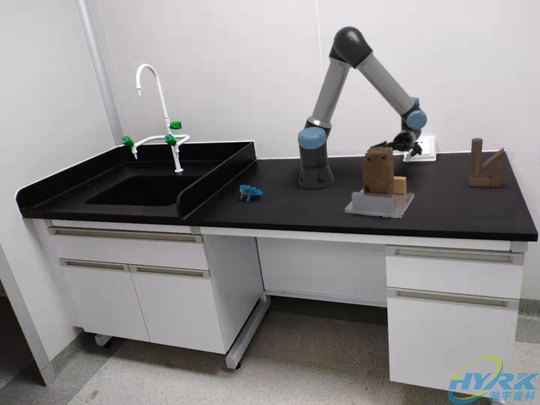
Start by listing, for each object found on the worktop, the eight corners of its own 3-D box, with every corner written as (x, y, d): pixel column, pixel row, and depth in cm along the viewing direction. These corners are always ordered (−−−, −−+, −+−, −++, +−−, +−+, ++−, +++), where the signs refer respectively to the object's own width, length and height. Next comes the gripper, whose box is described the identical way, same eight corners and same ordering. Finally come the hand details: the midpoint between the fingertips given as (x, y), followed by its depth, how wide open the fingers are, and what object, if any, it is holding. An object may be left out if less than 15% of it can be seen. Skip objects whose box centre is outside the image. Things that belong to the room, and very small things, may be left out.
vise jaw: (367, 191, 162) (367, 177, 159) (370, 188, 164) (369, 174, 161) (404, 194, 154) (404, 179, 152) (406, 191, 156) (406, 177, 154)
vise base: (344, 212, 151) (343, 193, 148) (362, 192, 165) (361, 174, 162) (400, 218, 141) (400, 198, 138) (414, 196, 155) (414, 178, 152)
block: (395, 197, 153) (394, 145, 145) (392, 206, 147) (391, 152, 139) (366, 196, 158) (363, 146, 150) (361, 204, 151) (358, 152, 144)
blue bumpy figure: (267, 193, 174) (252, 183, 168) (263, 206, 173) (247, 196, 166) (249, 192, 182) (234, 183, 175) (245, 205, 181) (229, 196, 174)
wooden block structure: (501, 187, 152) (505, 140, 145) (468, 186, 157) (471, 140, 150) (500, 183, 155) (504, 137, 148) (468, 183, 160) (471, 137, 153)
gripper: (435, 150, 168) (423, 168, 152) (375, 148, 182) (358, 164, 165) (435, 132, 166) (423, 148, 149) (374, 131, 179) (357, 146, 163)
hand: (389, 157), depth 157 cm, fingers open, 13 cm apart
